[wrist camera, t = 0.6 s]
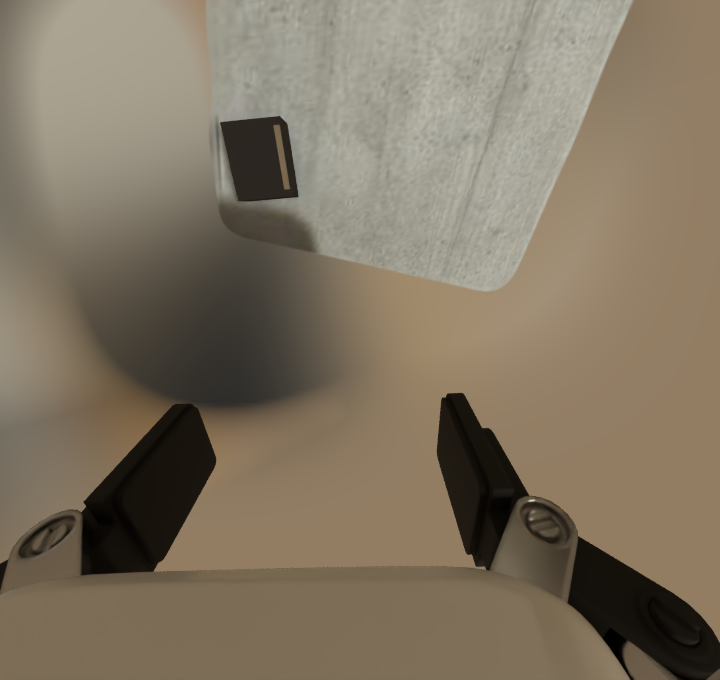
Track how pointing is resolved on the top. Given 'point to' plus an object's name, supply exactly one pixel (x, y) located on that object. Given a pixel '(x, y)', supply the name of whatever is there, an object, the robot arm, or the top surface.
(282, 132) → the charcoal pad
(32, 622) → the robot arm
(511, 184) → the top surface
